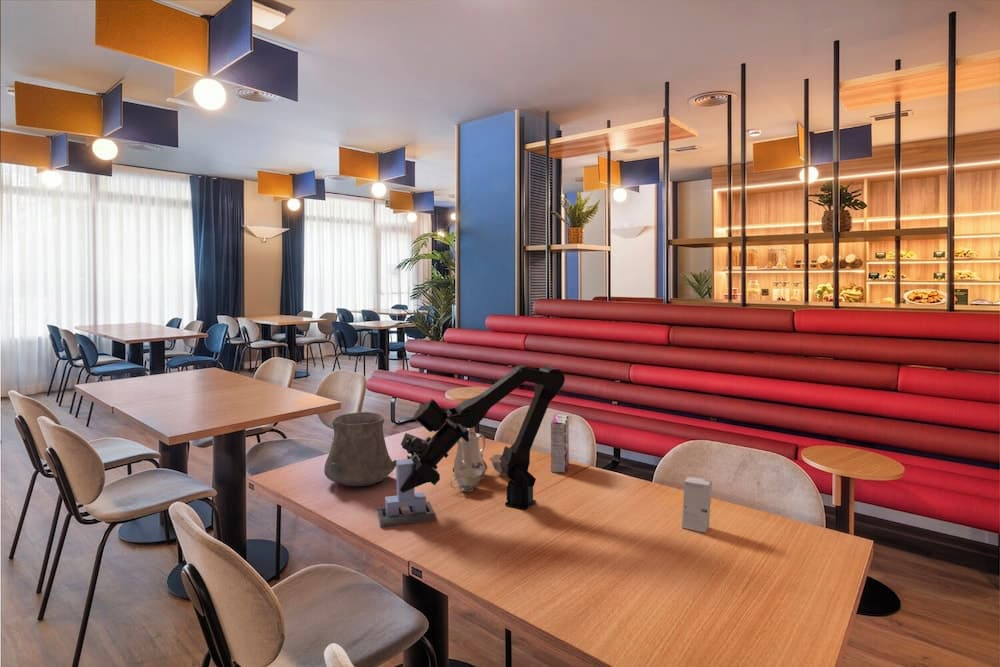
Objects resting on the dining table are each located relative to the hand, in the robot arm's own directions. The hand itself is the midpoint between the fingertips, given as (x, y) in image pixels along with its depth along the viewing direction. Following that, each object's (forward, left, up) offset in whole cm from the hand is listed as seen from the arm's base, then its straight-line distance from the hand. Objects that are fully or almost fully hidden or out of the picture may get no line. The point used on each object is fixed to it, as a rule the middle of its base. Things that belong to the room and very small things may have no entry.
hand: (400, 488), depth 153 cm
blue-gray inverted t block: (-1, -1, -7) cm, 7 cm away
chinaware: (-1, -35, -8) cm, 36 cm away
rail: (-1, -1, -8) cm, 8 cm away
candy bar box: (-18, -58, -8) cm, 62 cm away
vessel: (+28, -15, -8) cm, 33 cm away
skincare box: (-67, -33, -8) cm, 75 cm away
